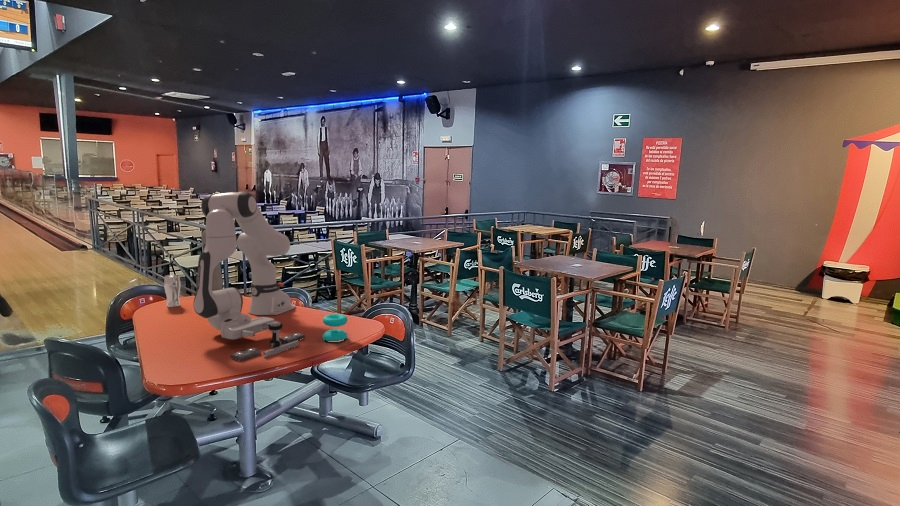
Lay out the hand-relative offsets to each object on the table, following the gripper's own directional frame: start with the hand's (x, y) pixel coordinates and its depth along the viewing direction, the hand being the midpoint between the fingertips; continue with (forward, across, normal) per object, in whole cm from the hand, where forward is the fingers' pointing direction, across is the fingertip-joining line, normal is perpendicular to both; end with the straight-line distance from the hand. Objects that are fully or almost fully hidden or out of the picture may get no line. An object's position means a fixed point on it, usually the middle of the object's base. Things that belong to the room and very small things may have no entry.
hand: (263, 331), depth 187 cm
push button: (+3, -2, -6) cm, 8 cm away
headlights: (+5, 0, -6) cm, 8 cm away
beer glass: (-81, -13, -7) cm, 82 cm away
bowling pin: (-71, -26, -7) cm, 75 cm away
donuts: (+16, -22, -6) cm, 28 cm away
